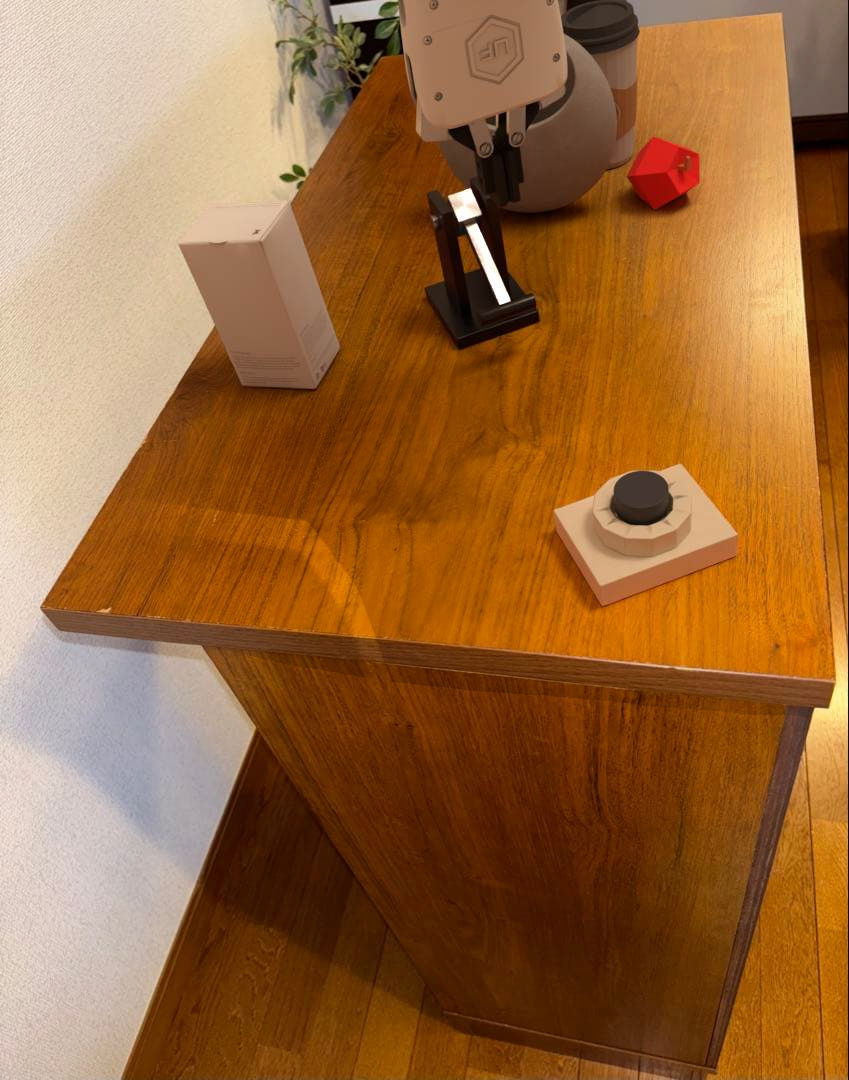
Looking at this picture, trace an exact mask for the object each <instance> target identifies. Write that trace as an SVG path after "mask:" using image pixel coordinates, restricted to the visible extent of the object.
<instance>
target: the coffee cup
mask: <svg viewBox="0 0 849 1080" xmlns="http://www.w3.org/2000/svg"><path fill="white" fill-rule="evenodd" d="M561 21H562V27H563V33H564V34H565V35H567V36H569V37H570V38H572V39H573V40H575V41H576V42H577V43H579V44H580V45H581V46H582V47H583V48H584V49H585V50H586V51H587V52H588V53H589V54H590V55H591V56H592V57H593V59H594V60H595V61H596V63H597V64H598V65H599V67H600V68H601V70H602V72H603V73H604V75H605V77H606V79H607V81H608V84H609V86H610V89H611V92H612V95H613V98H614V103H615V108H616V114H617V135H616V142H615V147H614V151H613V154H612V157H611V160H610V162H609V165H608V167H607V169H606V170H612V169H615V168H618V167H621V166H623V165H624V164H626V163H628V162H629V161H630V160H631V158H632V156H633V153H634V151H635V143H636V142H635V139H636V121H637V108H638V107H637V106H638V105H637V103H638V102H637V100H638V75H637V73H638V71H637V70H638V41H639V40H638V39H639V38H638V37H639V35H640V33H641V31H640V27H639V19H638V15H636V14H635V11H634V6H633V4H632V3H630V2H628V1H625V0H598V1H593V2H588V3H584V4H581V5H578V6H576V7H573V8H571V9H570V10H568V11H566V12H565V13H564V14H563V15H562V16H561Z"/></svg>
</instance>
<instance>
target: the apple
mask: <svg viewBox="0 0 849 1080" xmlns="http://www.w3.org/2000/svg"><path fill="white" fill-rule="evenodd" d="M700 174H701V173H700V153H698V152H696V151H693V149H690V148H688V147H686V146H682V145H680V144H677V143H674V142H672V141H670V140H665V139H663V138H660V137H657V136H654V135H653V136H652V137H651V138H650V140H648V141H647V143H646V144H644V146H643V147H642V148H641V149H640V150H639V151H638V153H637V154H636V156H635V159H634V161H633V163H632V165H631V166H630V169H629V171H628V172H627V175H626V178H627V179H628V181H629V183H630V184H631V186H632V187H633V189H634V191H635V192H636V195H638V198H640V199H641V201H644V202H645V203H646V204H647V205H648V206H650V207H651V208H652V209H653V210H654V211H655V210H658V209H660V208H661V207H663V206H665V205H666V204H668V203H670V202H672V201H674V200H675V199H677V198H679V197H681V196H683V195H684V194H686V193H688V192H689V191H691V190H692V189H693V188H694V187H696V186H697V185H699V184H700V182H701V181H700V180H701V178H700V177H701V176H700Z"/></svg>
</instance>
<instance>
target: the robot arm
mask: <svg viewBox="0 0 849 1080" xmlns="http://www.w3.org/2000/svg"><path fill="white" fill-rule="evenodd" d="M397 2H398V12H399V22H400V23H399V25H400V34H401V40H402V41H401V42H402V49H403V50H402V51H403V58H404V65H405V71H406V72H405V73H406V77H407V83H408V87H409V91H410V96H411V99H412V101H413V103H414V106H415V107H416V113H415V114H416V115H415V131H416V132H415V133H416V134H417V135H418V137H419V138H420V140H422V141H423V142H424V143H435V142H437V143H438V141H448V140H455V141H457V142H459V143H460V144H462V145H464V146H465V147H467V148H469V149H470V150H472V151H474V157H475V163H476V169H477V175H478V182H479V186H480V189H481V191H482V193H483V194H484V195H488V194H489V196H490V197H491V198H492V199H493V200H494V202H495V203H496V204H497V205H498V206H499V207H500V208H499V209H502V208H501V207H504V206H507V203H509V201H510V202H513V203H516V202H519V201H521V197H520V189H519V184H520V183H523V182H524V174H523V167H522V159H521V151H520V146H521V145H522V144H523V143H524V141H525V132H526V131H527V129H528V127H529V126H530V124H531V123H532V121H533V119H534V118H535V116H536V115H537V113H538V111H539V110H540V109H544V108H545V107H547V106H548V105H550V104H552V103H553V102H555V101H556V100H558V99H560V98H561V97H562V96H563V95H564V94H565V85H564V84H565V82H566V80H567V55H566V47H565V40H564V33H563V27H562V21H561V15H560V10H559V4H558V0H398V1H397ZM495 115H496V131H495V135H494V136H492V139H493V140H492V139H491V136H490V133H489V130H488V127H487V123H486V120H485V119H486V118H489V117H492V116H495Z"/></svg>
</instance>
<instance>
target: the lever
mask: <svg viewBox="0 0 849 1080" xmlns="http://www.w3.org/2000/svg"><path fill="white" fill-rule="evenodd" d="M446 197H447V199H446V202H447V203H448V205H449V206H450V207H451V209H452V210H453V214H454V220H455V225H456V230H457V236H458V238H460V237H463V236H465V237H466V238H467V241H468V242H469V246H470V248H471V251H472V253H473V255H474V257H475V260H476V261H477V264H478V266H479V268H481V271H482V273H483V275H484V278H485V280H486V282H487V285H488V287H489V289H490V291H491V294H492V296H493V298H494V301H495V303H496V305H495V306H492V307H490V308H487V309H484V310H481V311H478V312H477V318H478V321H479V324H480V325H481V327H483V326H486V325H489V324H492V323H494V322H497V321H500V320H503V319H506V318H509V317H512V316H514V315H517V314H520V313H523V312H526V311H529V310H532V309H534V308H537V306H538V304H537V303H538V302H537V299H536V297H535V295H534V294H533V292H529V293H527V294H526V295H524V296H521V297H518V298H515V299H512V300H511V299H510V297H509V295H508V293H507V290H506V288H505V286H504V284H503V281H502V279H501V277H500V274H499V272H498V270H497V268H496V265H495V263H494V261H493V258H492V256H491V254H490V252H489V249H488V247H487V245H486V243H485V240H484V238H483V236H482V233H481V231H480V230H481V223H482V213H481V210H480V208H479V206H478V204H477V201H476V199H475V197H474V194H473V192H472V190H471V188H469V189H467V188H466V189H464V190H461V191H457V192H455V193H451V194H448V195H446Z"/></svg>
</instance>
